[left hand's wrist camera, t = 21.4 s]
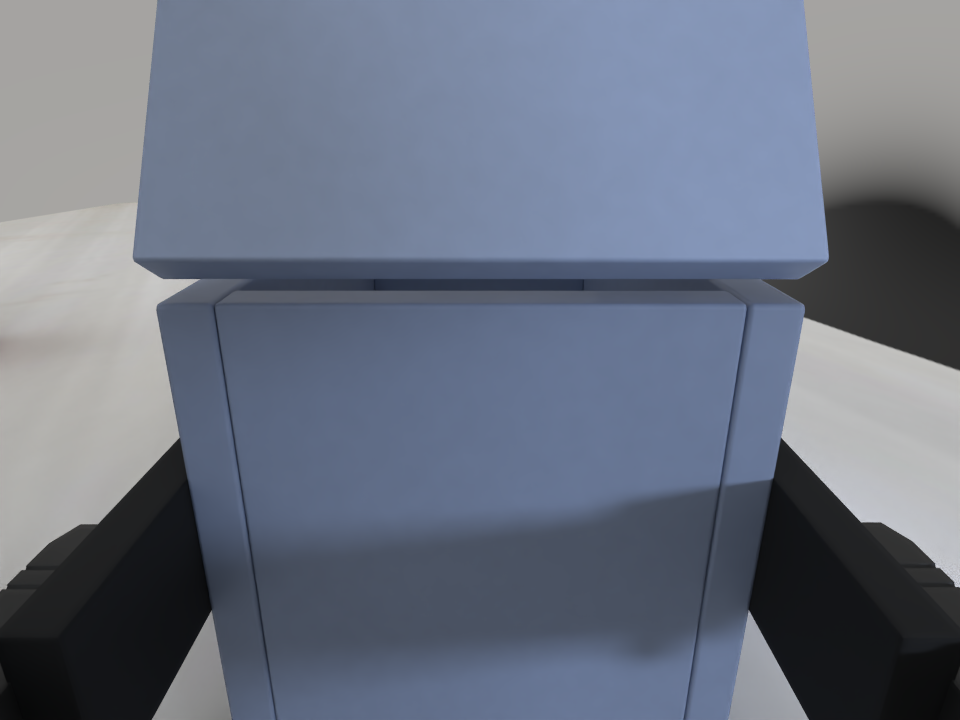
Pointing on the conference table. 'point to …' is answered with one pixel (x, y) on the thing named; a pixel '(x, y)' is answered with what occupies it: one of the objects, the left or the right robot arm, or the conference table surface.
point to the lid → (480, 140)
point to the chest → (480, 490)
